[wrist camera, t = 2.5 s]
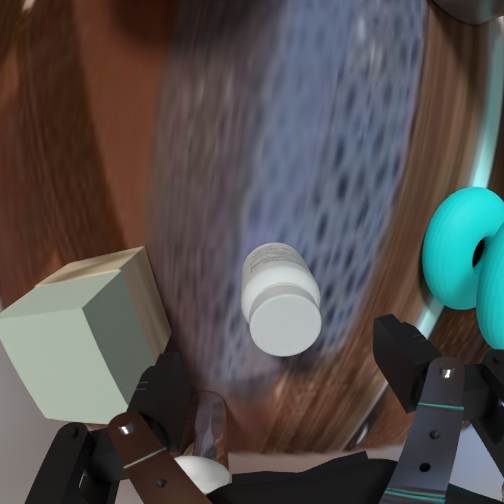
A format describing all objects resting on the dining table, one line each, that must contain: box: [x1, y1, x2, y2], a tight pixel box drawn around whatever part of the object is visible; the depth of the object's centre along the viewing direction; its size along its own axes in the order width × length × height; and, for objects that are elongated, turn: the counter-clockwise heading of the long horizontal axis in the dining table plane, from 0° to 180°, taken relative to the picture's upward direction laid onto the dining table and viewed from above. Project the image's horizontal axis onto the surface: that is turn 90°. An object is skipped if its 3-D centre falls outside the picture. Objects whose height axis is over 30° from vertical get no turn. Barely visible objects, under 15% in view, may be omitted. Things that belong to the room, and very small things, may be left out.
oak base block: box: [35, 246, 172, 362], centre depth 20 cm, size 7×7×5 cm
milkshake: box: [171, 391, 229, 493], centre depth 20 cm, size 4×5×10 cm
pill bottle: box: [241, 243, 322, 356], centre depth 18 cm, size 4×4×8 cm
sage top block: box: [0, 270, 156, 424], centre depth 15 cm, size 7×7×5 cm
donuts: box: [422, 187, 504, 350], centre depth 16 cm, size 10×10×10 cm
